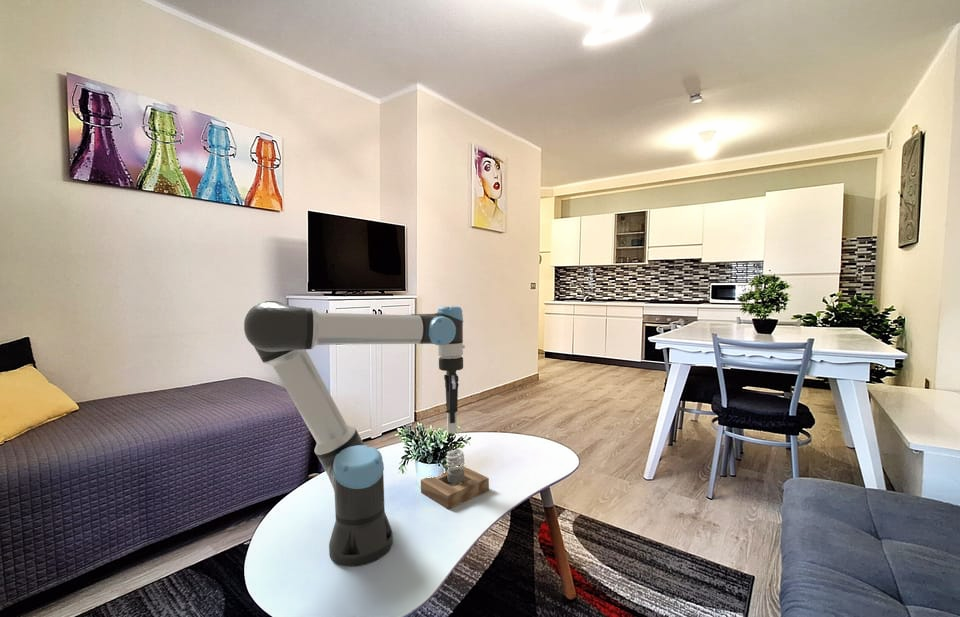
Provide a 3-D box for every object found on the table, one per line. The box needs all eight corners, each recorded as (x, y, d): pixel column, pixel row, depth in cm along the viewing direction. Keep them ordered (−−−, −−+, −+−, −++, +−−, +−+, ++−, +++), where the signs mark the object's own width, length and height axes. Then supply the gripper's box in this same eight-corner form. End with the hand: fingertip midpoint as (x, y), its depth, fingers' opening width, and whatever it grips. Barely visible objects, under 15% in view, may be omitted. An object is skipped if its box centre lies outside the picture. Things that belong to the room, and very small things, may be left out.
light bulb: (449, 493, 126) (448, 454, 126) (445, 485, 132) (444, 447, 131) (467, 490, 128) (466, 452, 127) (462, 482, 133) (461, 445, 133)
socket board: (448, 509, 119) (447, 495, 119) (420, 492, 130) (420, 479, 130) (489, 490, 130) (488, 478, 130) (460, 476, 140) (460, 464, 140)
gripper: (466, 359, 122) (467, 438, 123) (459, 353, 135) (460, 424, 136) (441, 360, 121) (442, 440, 122) (436, 354, 134) (437, 426, 135)
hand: (452, 432), depth 129 cm, fingers closed
